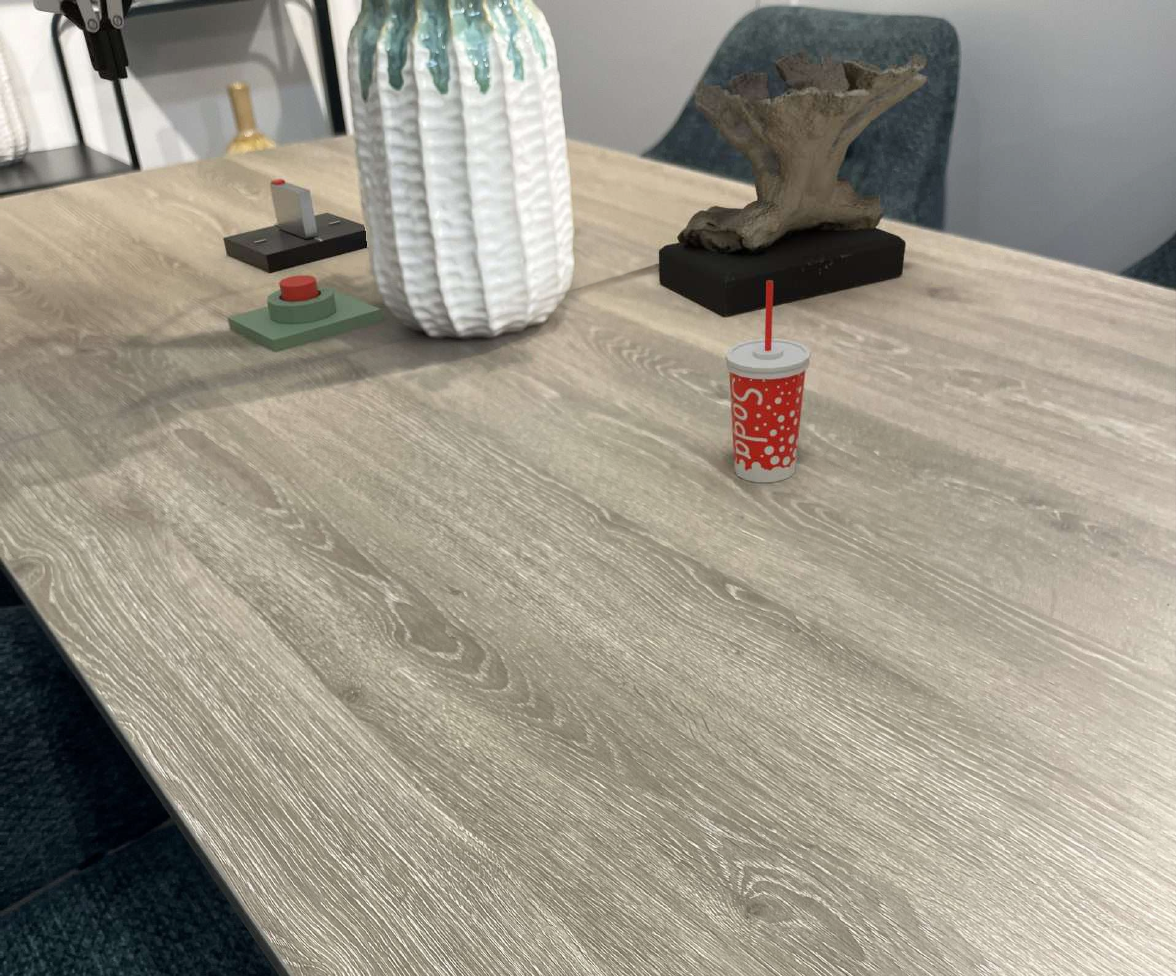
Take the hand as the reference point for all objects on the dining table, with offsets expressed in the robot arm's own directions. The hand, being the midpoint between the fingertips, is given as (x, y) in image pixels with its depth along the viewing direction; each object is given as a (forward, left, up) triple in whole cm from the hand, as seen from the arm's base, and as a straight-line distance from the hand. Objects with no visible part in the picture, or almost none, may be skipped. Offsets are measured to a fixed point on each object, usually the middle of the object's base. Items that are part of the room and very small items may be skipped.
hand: (113, 77), depth 120 cm
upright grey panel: (+21, +11, -20) cm, 31 cm away
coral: (+52, -41, -23) cm, 70 cm away
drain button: (+8, -14, -19) cm, 25 cm away
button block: (+8, -14, -23) cm, 28 cm away
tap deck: (+21, +11, -23) cm, 33 cm away
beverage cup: (+17, -70, -23) cm, 76 cm away
